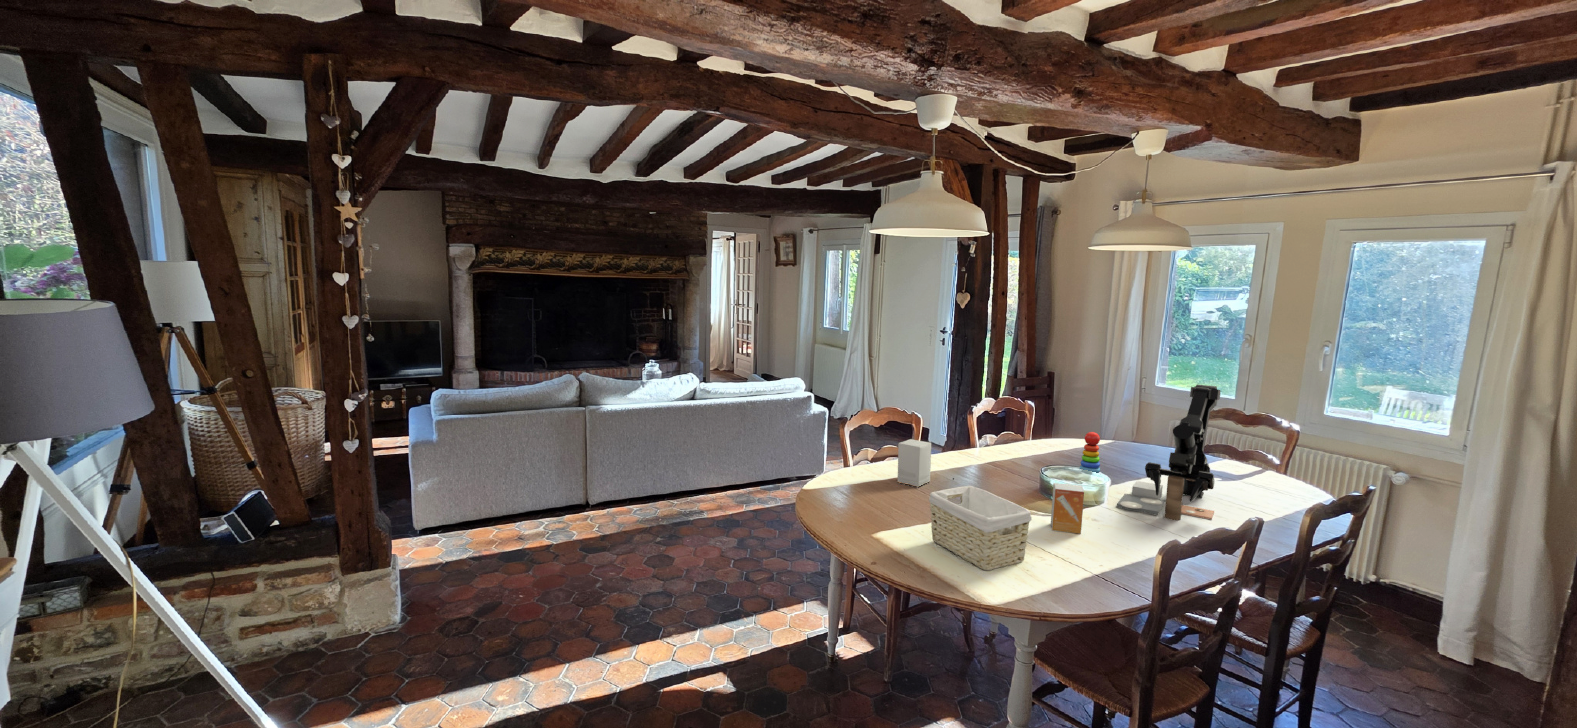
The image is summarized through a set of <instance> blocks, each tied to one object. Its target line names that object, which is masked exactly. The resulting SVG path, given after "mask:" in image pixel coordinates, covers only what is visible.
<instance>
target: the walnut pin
mask: <svg viewBox="0 0 1577 728" xmlns="http://www.w3.org/2000/svg"><path fill="white" fill-rule="evenodd" d="M1183 487H1184V478H1182V477H1178V476H1167V483H1166V492H1165V493H1166V494H1165V503H1164V505H1165V506H1164V507H1165V508H1164V515H1163V517H1164V518H1165V519H1168V520H1169V521H1181V517H1182V514H1181V508H1182V505H1183V496H1184V495H1183Z"/></svg>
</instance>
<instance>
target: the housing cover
mask: <svg viewBox="0 0 1577 728" xmlns="http://www.w3.org/2000/svg"><path fill="white" fill-rule="evenodd" d="M1131 495H1134V496H1140V497H1145V498H1153V499H1157V500H1161V499H1162V496H1163V485H1162V484H1160V489H1159V494H1158V496H1157V495H1156V489H1155V483H1152V482H1145V481H1140V480H1136V481H1135V483H1134V484H1132V487H1131Z"/></svg>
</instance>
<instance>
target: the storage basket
mask: <svg viewBox="0 0 1577 728" xmlns="http://www.w3.org/2000/svg"><path fill="white" fill-rule="evenodd" d="M959 497H960V498H959ZM955 498H959V500H960V503H954V502H952V501H950V500H949V499H955ZM928 502H929V503H930V504H929V505H930V506H929V507H930V509H929V510H930V513H931V514H930V515H931V516H930V517H931V518H930V520H931V525H930V527H931V535H932V537H931V538H932V541H933V542H935V543H937V544H938V545H939V546H942V547H943V548H945V549H947V550H948V551H951V552H952V553H954V554H955V555H957V556H959V557H960V558H961V559H963V560H965V561H967V562H969V563H972V564H973V565H975V566H976V567H978V568H980V569H981V570H983V571H991V570H994V569H999V568H1005V567H1007V566H1012V565H1014V564H1015V565H1017V564H1019V563H1021V562H1023V561H1024V560H1025V556H1026V547H1027V542H1028V538H1029V536H1028V533H1029V527H1030V526H1029V525H1030V522H1031V521H1032V518H1033V517H1032V515H1031V511H1030V510H1028V509H1027V508H1025V507H1023V506H1021V505H1020V504H1017V503H1015V502H1012V501H1010V500H1008V499H1006V498H1003V497H1000V496H999V495H996V494H994V493H992V492H989V491H987V490H985V489H982V488H979V487H975V486H972V485H965V486H958V487H952V488H947V489H940V490H937V491H931V492H930V494H929V498H928Z"/></svg>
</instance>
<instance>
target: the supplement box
mask: <svg viewBox="0 0 1577 728" xmlns="http://www.w3.org/2000/svg"><path fill="white" fill-rule="evenodd" d="M897 448H898V451H897V452H898V453H897V454H898V455H897V482H898V481H899V482H902V483H908V484H911V485H914V486H921V485H923V484H924V483H927V482H929V481H930V482H931V463H932V442H929V441H923V440H917V439H913V438H910V439H906V440H904V441H901V442H898V446H897ZM927 484H928V483H927ZM923 486H924V485H923ZM921 487H922V486H921Z"/></svg>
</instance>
